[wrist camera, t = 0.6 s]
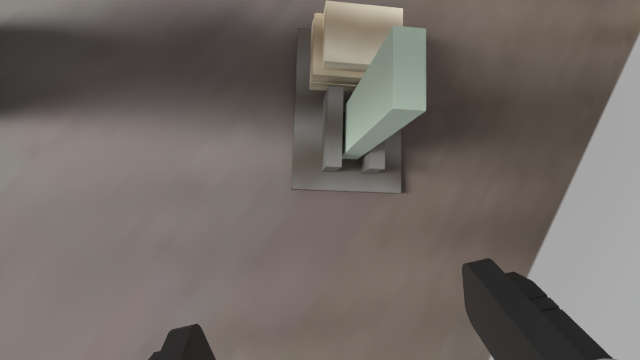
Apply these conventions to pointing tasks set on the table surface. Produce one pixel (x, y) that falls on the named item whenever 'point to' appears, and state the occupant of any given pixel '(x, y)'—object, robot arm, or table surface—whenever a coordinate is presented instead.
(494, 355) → the robot arm
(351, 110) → the slat
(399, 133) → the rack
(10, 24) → the table surface
